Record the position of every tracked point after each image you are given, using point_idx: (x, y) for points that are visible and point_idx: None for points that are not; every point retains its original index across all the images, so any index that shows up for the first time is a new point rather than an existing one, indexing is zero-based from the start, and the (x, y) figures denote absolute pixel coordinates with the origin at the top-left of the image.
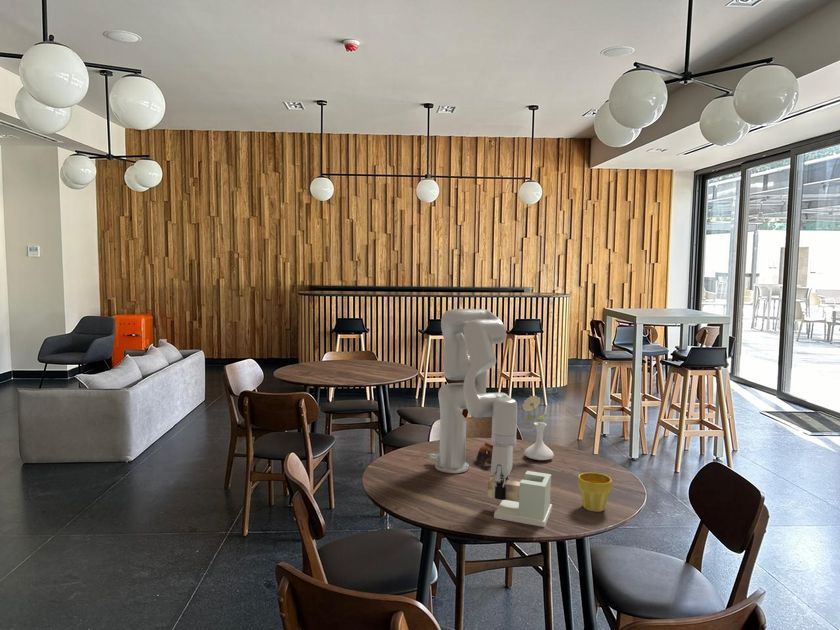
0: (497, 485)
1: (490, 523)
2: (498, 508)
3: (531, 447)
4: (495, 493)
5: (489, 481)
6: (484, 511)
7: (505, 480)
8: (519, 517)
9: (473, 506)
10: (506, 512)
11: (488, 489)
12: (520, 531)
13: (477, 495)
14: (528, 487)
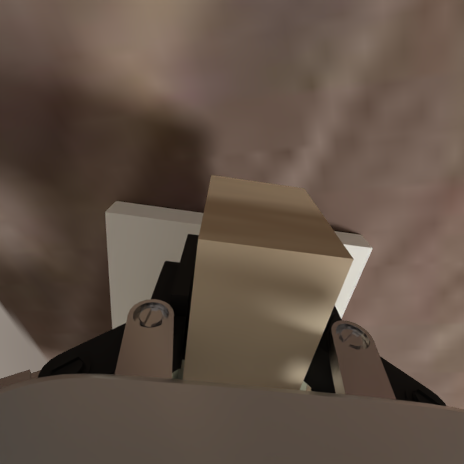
0: (107, 337)
1: (39, 188)
2: (182, 228)
3: None
4: (183, 254)
5: (197, 254)
6: (185, 137)
7: (276, 386)
8: (113, 322)
9: (245, 47)
10: (145, 270)
11: (207, 203)
12: (36, 312)
13: (457, 51)
14: None
